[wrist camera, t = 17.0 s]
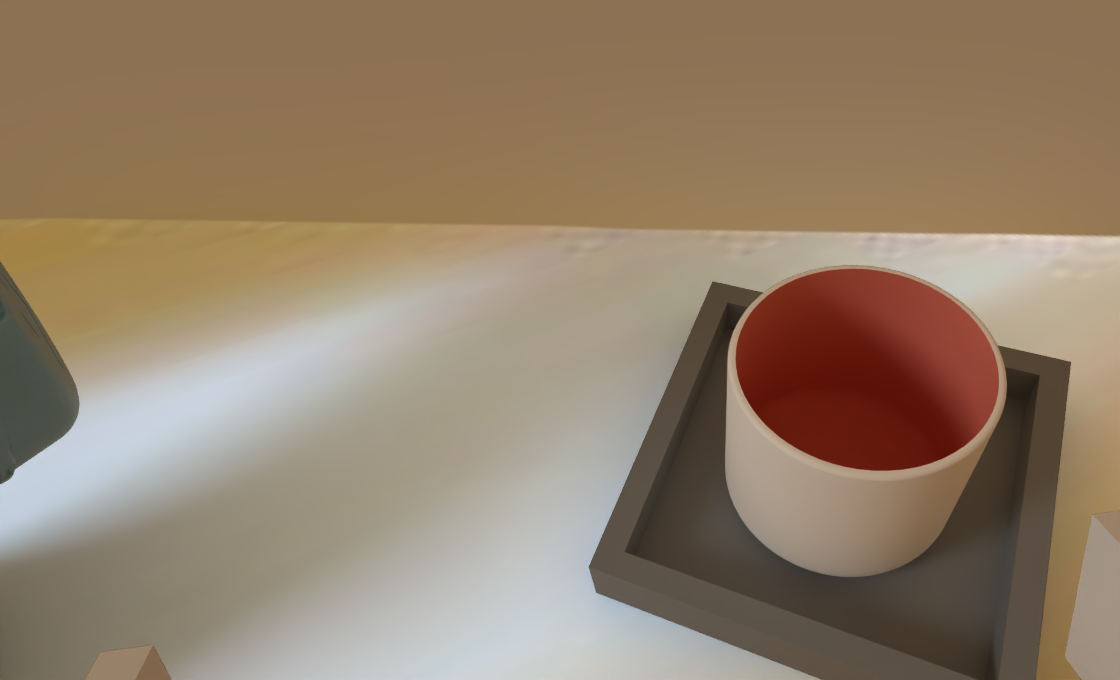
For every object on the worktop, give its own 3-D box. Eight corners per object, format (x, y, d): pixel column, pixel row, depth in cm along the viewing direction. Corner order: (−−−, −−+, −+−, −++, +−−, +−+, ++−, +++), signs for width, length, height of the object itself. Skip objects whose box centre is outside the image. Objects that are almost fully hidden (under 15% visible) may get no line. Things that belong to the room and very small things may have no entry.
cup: (769, 371, 43) (781, 237, 35) (970, 439, 39) (1034, 305, 31) (691, 530, 38) (685, 416, 31) (911, 627, 34) (969, 524, 26)
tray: (596, 592, 38) (588, 566, 36) (712, 316, 47) (712, 281, 45) (1006, 750, 32) (1029, 732, 29) (1050, 397, 41) (1070, 361, 38)
